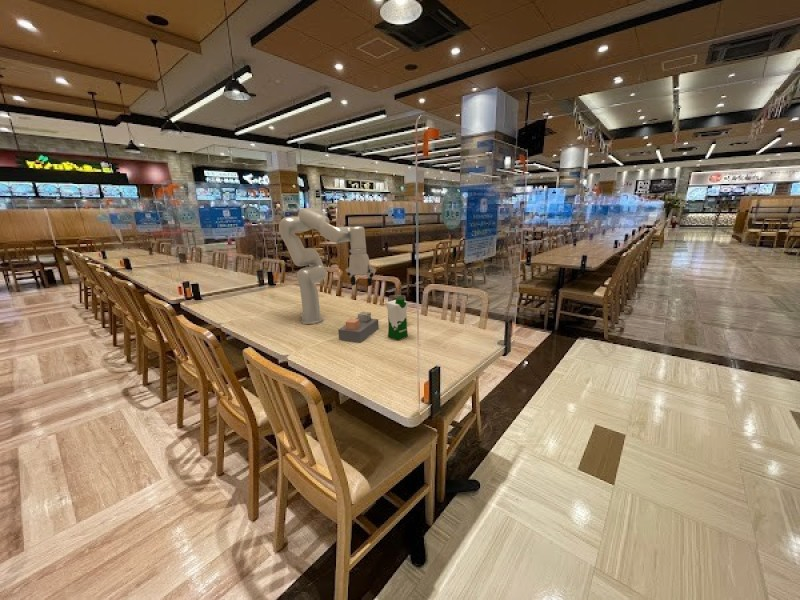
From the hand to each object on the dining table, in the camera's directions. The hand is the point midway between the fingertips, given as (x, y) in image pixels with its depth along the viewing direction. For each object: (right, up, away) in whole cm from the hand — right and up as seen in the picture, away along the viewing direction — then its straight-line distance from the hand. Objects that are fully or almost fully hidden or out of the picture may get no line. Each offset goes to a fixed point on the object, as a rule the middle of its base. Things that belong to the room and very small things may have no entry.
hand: (361, 285), depth 163 cm
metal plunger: (+1, -19, +5) cm, 20 cm away
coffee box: (+18, -21, +13) cm, 31 cm away
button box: (-1, -25, 0) cm, 25 cm away
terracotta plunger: (-4, -22, -6) cm, 23 cm away
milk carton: (+19, -26, -4) cm, 32 cm away
